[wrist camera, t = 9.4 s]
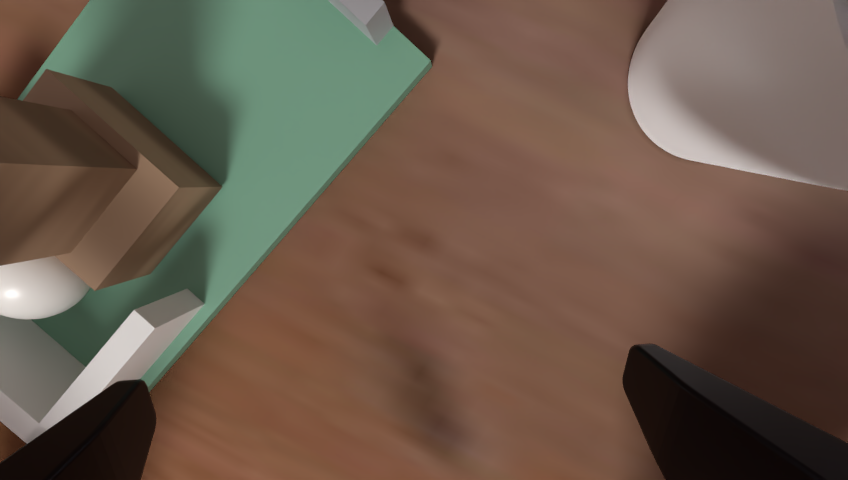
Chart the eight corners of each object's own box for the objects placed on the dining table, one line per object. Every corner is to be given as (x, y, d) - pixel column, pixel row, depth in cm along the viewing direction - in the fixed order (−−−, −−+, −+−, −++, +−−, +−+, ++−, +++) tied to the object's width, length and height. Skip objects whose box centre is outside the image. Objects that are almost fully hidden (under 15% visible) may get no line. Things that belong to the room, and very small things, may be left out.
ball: (59, 318, 17) (104, 322, 21) (77, 209, 18) (118, 232, 22) (-78, 315, 16) (-4, 320, 20) (-51, 201, 17) (14, 227, 21)
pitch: (214, -136, 20) (144, -230, 15) (431, 66, 20) (426, 33, 16) (-65, 240, 22) (-195, 255, 18) (132, 411, 23) (54, 467, 18)
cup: (550, 90, 20) (697, -50, 8) (712, -89, 19) (1166, -565, 7) (707, 235, 20) (1076, 311, 8) (875, 68, 19) (1584, -124, 7)
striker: (111, 87, 20) (-385, -53, 8) (222, 186, 20) (-102, 192, 8) (42, 178, 20) (-512, 173, 9) (150, 274, 20) (-248, 394, 9)
